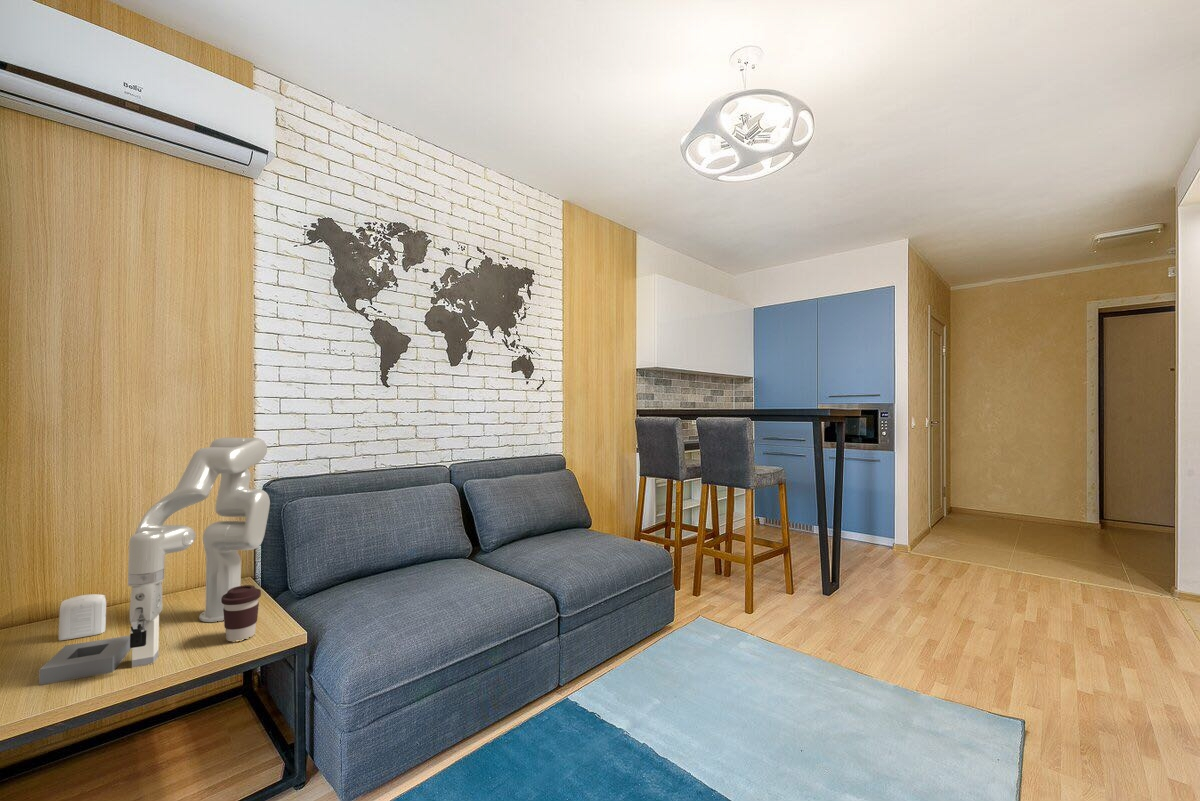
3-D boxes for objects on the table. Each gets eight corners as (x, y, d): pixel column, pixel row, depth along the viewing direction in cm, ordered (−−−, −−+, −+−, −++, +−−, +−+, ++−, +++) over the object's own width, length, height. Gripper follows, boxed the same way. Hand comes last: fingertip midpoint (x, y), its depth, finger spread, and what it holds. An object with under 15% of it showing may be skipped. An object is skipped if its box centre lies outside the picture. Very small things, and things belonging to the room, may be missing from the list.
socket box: (131, 648, 147) (131, 635, 147) (112, 672, 135) (112, 657, 135) (65, 659, 141) (65, 645, 141) (39, 685, 128) (39, 669, 128)
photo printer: (107, 629, 159) (108, 590, 159) (103, 634, 156) (104, 594, 156) (61, 637, 154) (61, 596, 154) (56, 642, 150) (56, 601, 150)
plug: (158, 656, 143) (159, 614, 143) (153, 663, 139) (154, 620, 139) (137, 660, 141) (138, 617, 141) (131, 667, 137) (132, 623, 137)
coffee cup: (254, 627, 162) (254, 580, 162) (264, 636, 156) (265, 588, 156) (216, 638, 154) (217, 589, 154) (226, 648, 148) (227, 597, 148)
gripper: (153, 584, 134) (151, 649, 134) (172, 566, 149) (170, 624, 149) (116, 589, 130) (113, 655, 130) (139, 570, 146) (137, 629, 145)
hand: (144, 639), depth 139 cm, fingers open, 9 cm apart
